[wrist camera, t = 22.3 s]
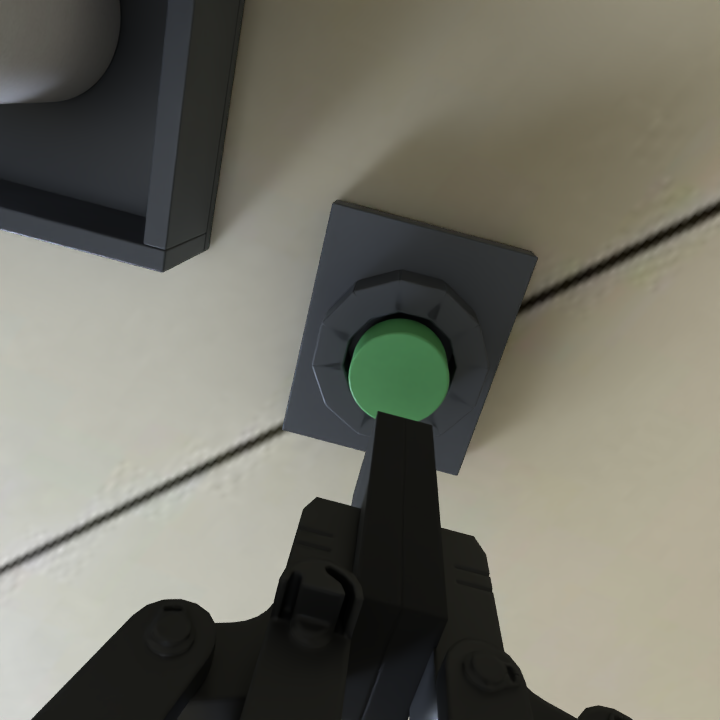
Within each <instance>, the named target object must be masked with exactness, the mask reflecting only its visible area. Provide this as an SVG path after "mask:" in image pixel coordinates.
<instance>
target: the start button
mask: <svg viewBox="0 0 720 720" xmlns="http://www.w3.org/2000/svg"><path fill="white" fill-rule="evenodd" d="M348 380H349V387H350V391H351V393H352V396H353V398H354V399H355V401H356V403H357V404H358V405H359V407H360V408H361V409H362V410H363V411H364V412H366V413H367V414H368V415H370V416H371V417H373V418H374V419H375V418H376V415H377V411H380V412H384V413H388V414H392V415H396V416H399V417H403V418H407V419H411V420H415V421H420V420H422V419H424V418H426V417H428V416H429V415H431V414H432V413H433V412H434V411H435V410H436V409H437V408H438V407H439V406H440V405H441V404H442V402H443V400H444V399H445V397H446V394H447V391H448V388H449V369H448V363H447V357H446V352H445V349H444V346H443V344H442V342H441V341H440V339H439V338H438V336H437V335H436V334H435V333H434V332H433V331H432V330H431V329H430V328H428V327H427V326H425V325H423V324H421V323H419V322H417V321H414V320H409V319H401V318H398V319H389V320H385V321H382V322H380V323H378V324H376V325H374V326H372V327H371V328H370V329H368V330H367V331H366V332H365V333H364V334H363V335H362V336H361V338H360V339H359V341H358V343H357V345H356V347H355V350H354V353H353V357H352V360H351V364H350V368H349V377H348Z"/></svg>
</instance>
